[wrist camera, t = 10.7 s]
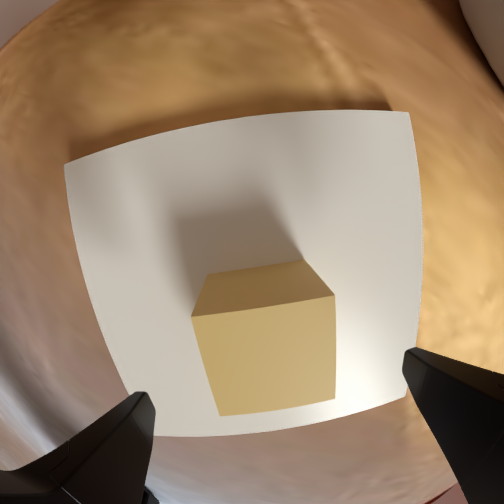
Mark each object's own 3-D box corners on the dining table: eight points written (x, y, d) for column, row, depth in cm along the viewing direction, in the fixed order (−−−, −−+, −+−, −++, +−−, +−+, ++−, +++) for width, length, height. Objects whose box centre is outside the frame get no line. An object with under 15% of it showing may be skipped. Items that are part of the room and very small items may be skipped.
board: (155, 422, 18) (151, 435, 17) (76, 165, 14) (63, 164, 12) (397, 385, 18) (405, 396, 17) (396, 117, 14) (408, 112, 12)
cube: (225, 355, 15) (220, 416, 10) (207, 273, 14) (190, 317, 9) (311, 342, 15) (335, 398, 10) (304, 259, 14) (335, 295, 9)
